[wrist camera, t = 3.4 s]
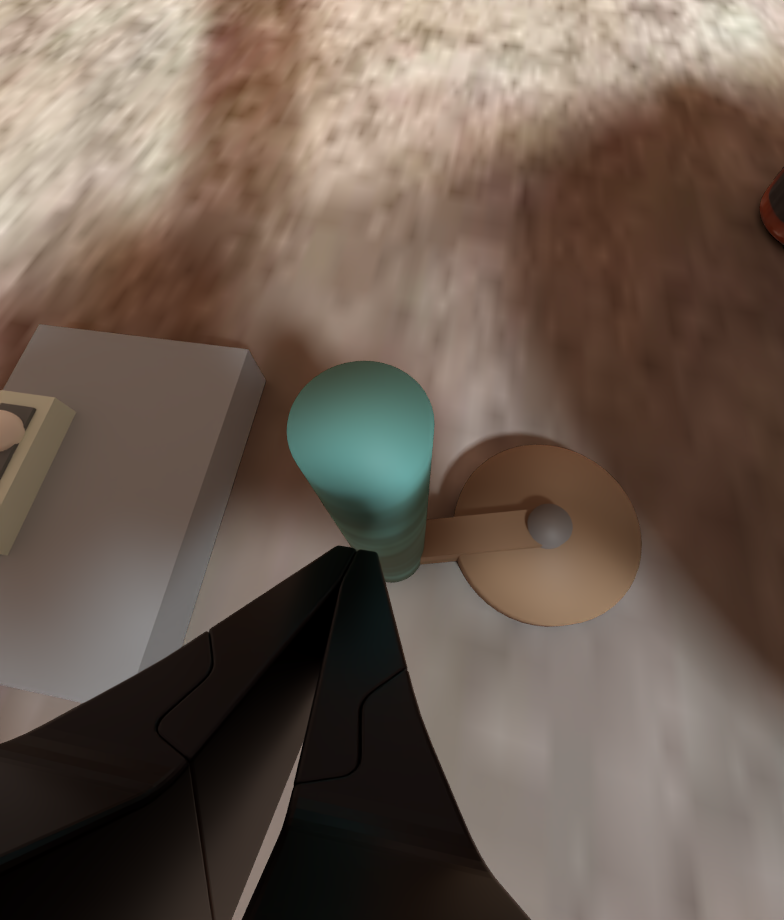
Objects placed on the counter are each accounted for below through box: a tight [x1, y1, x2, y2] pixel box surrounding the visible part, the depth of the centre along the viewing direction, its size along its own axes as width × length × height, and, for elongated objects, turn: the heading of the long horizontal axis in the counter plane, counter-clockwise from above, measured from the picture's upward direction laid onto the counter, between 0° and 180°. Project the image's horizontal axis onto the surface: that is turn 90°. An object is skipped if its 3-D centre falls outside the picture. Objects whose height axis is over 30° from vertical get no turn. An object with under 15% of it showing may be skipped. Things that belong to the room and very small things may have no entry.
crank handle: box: [287, 361, 642, 627], centre depth 13 cm, size 7×11×12 cm, turn 80°
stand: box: [0, 324, 266, 703], centre depth 18 cm, size 14×10×5 cm
